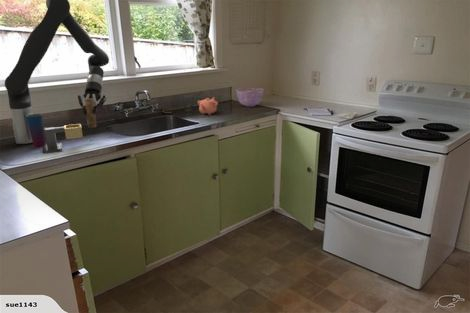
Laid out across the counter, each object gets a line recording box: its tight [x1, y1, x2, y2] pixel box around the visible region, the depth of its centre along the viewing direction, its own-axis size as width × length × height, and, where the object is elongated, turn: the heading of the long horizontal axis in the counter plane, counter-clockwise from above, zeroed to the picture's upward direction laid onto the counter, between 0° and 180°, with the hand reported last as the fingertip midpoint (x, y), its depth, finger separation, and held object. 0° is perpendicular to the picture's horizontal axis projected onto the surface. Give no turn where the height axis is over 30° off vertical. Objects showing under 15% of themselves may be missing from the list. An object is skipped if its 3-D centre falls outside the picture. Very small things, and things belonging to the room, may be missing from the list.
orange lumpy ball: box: [197, 96, 219, 116], centre depth 247 cm, size 14×12×10 cm
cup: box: [26, 113, 46, 148], centre depth 180 cm, size 7×7×15 cm
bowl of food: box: [235, 87, 265, 108], centre depth 271 cm, size 20×20×12 cm
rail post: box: [84, 98, 97, 129], centre depth 187 cm, size 4×4×14 cm
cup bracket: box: [42, 123, 84, 154], centre depth 177 cm, size 18×10×10 cm, turn 113°
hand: (89, 113), depth 185 cm, fingers closed on rail post, 4 cm apart
